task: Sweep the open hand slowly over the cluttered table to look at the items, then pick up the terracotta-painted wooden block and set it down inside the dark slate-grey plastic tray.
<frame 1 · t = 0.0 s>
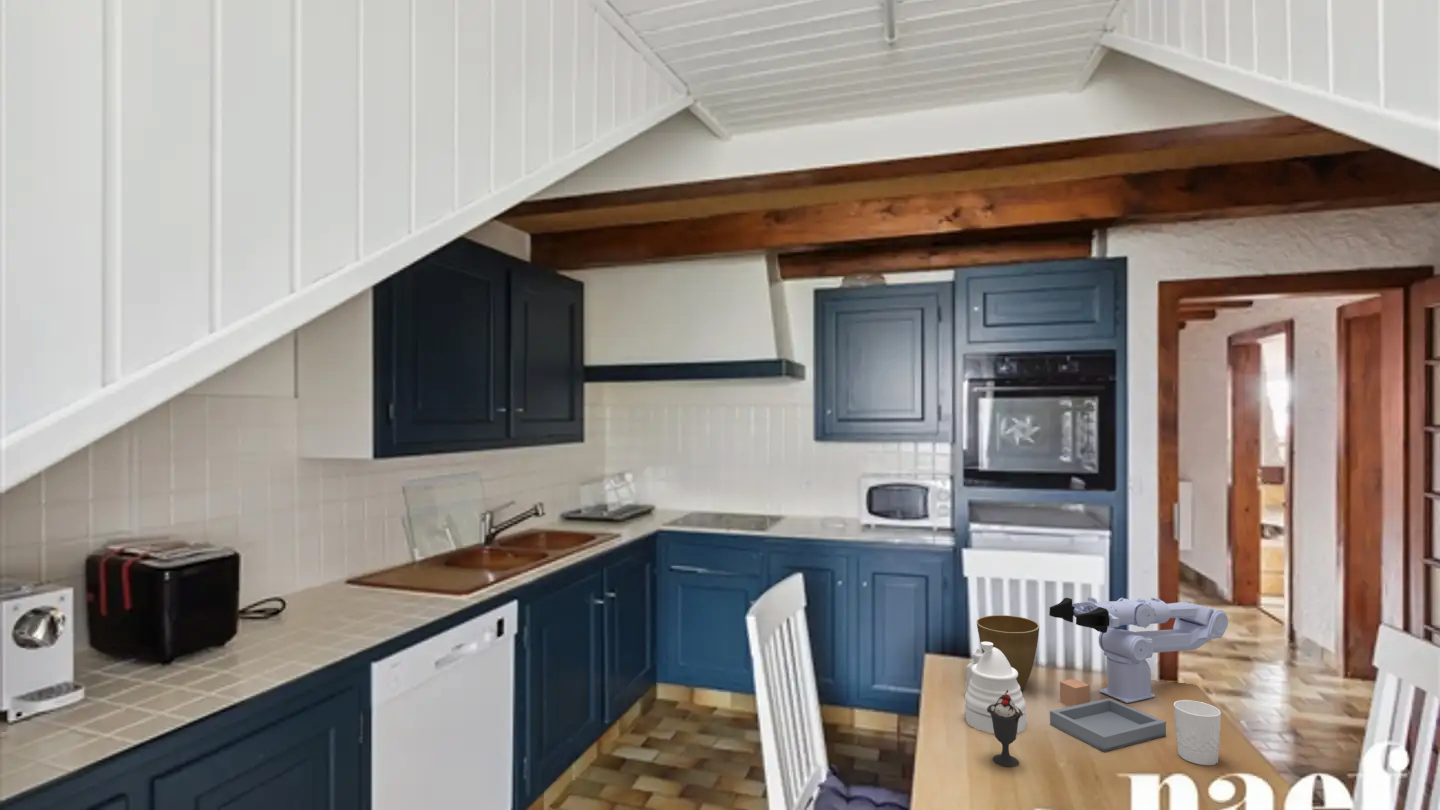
hand: (1063, 615, 168), 22 cm above the table, tool horizontal, fingers open, 7 cm apart
eye dropper bottle: (979, 698, 175), on the table
white cup: (1197, 758, 144), on the table
plant pot: (1008, 686, 182), on the table
sundae: (1006, 762, 144), on the table
honey pot: (995, 722, 162), on the table
block: (1074, 704, 170), on the table
tray: (1106, 730, 156), on the table
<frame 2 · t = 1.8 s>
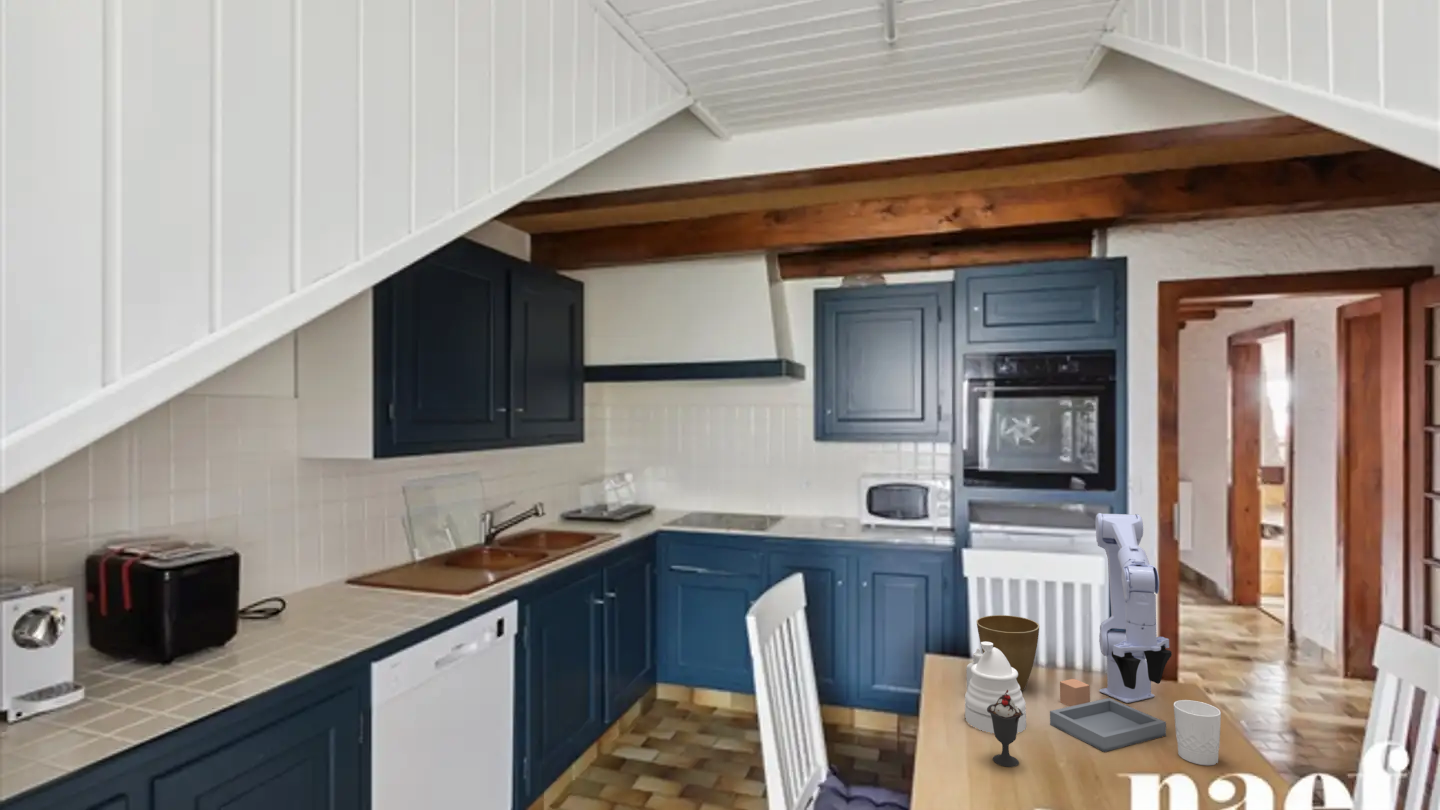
hand: (1142, 684, 155), 10 cm above the table, tool pointing down, fingers open, 7 cm apart
nothing on the table moved.
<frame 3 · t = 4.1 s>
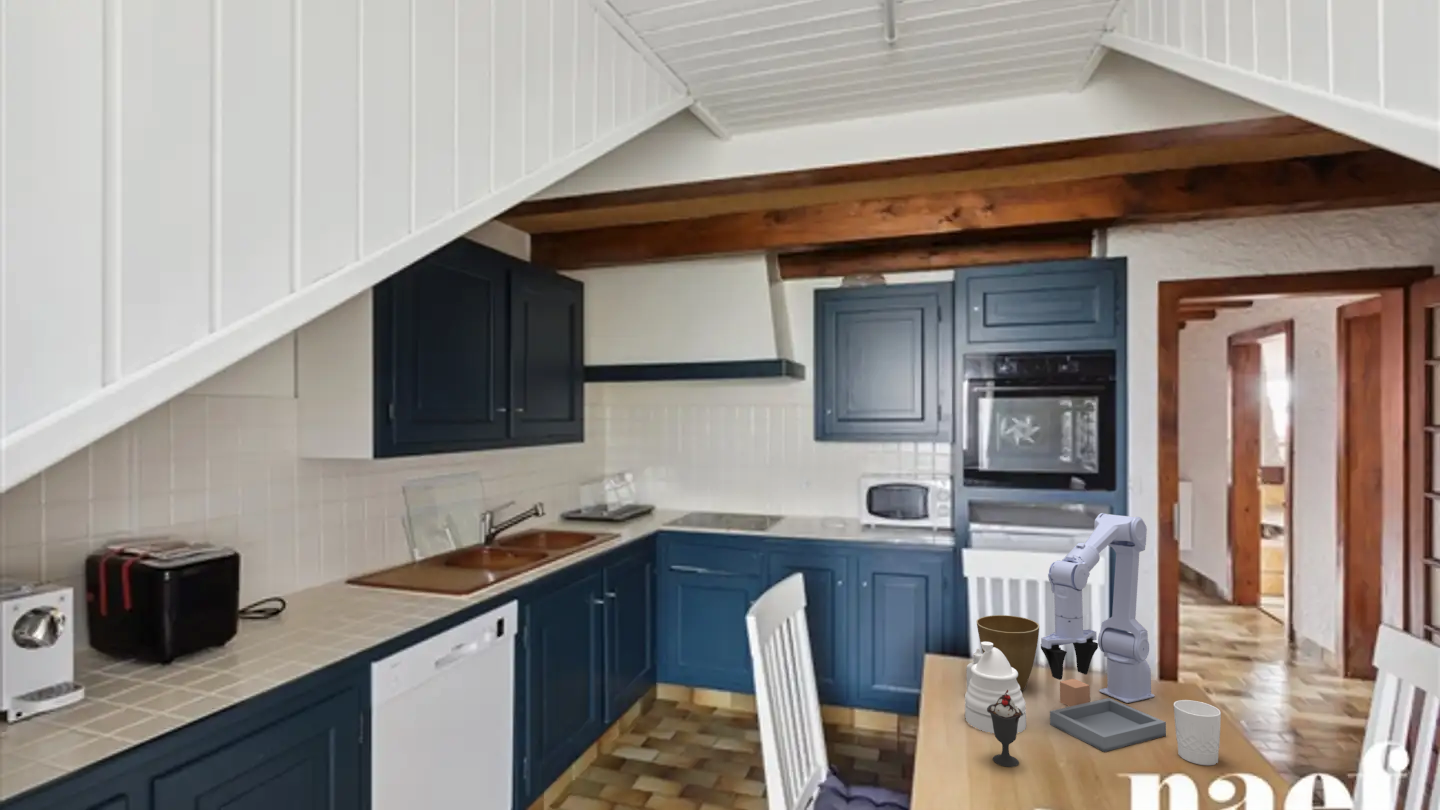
hand: (1069, 675, 161), 10 cm above the table, tool pointing down, fingers open, 7 cm apart
nothing on the table moved.
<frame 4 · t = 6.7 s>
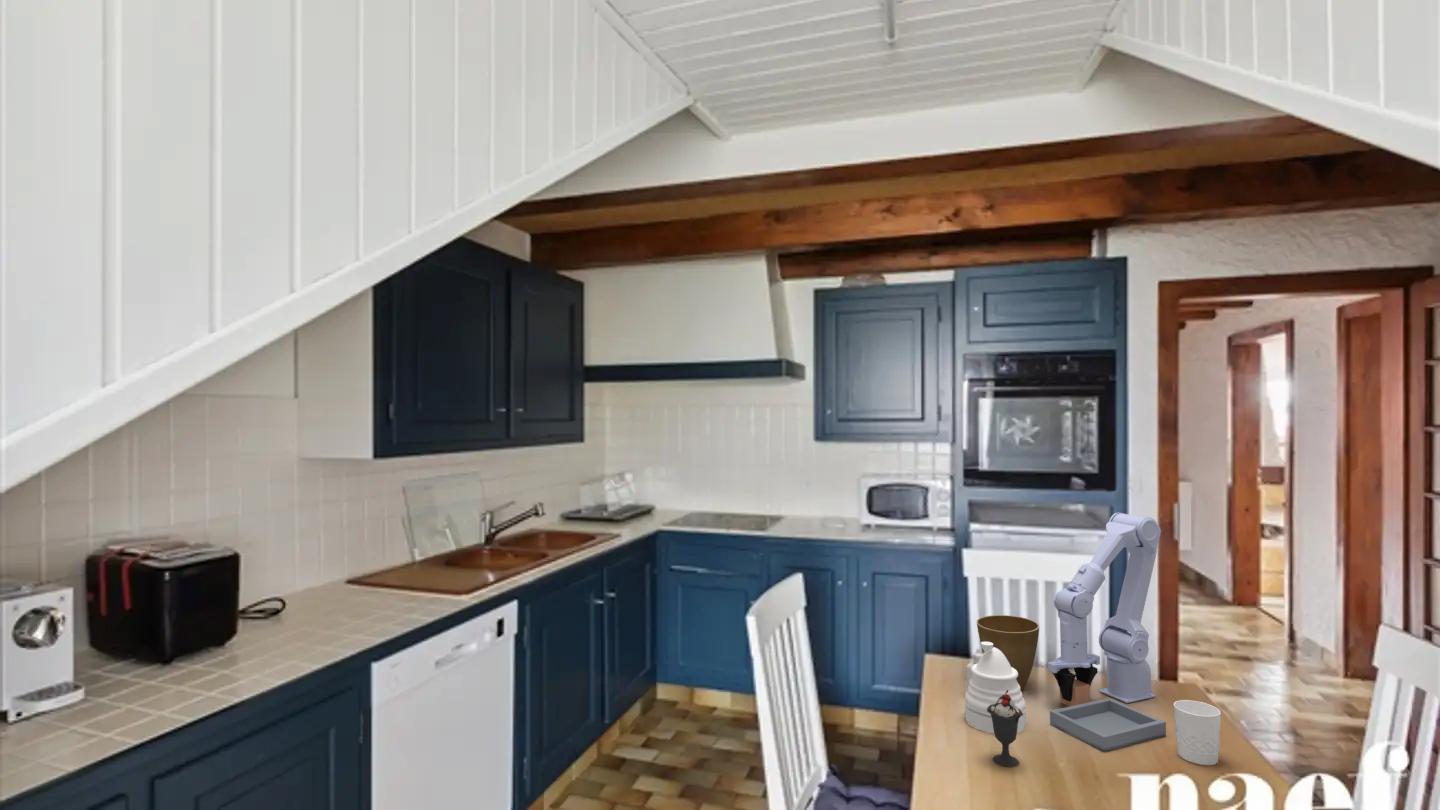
hand: (1074, 698, 170), 1 cm above the table, tool pointing down, fingers closed on block, 4 cm apart
block: (1074, 704, 170), on the table, touching gripper
everything else where it was.
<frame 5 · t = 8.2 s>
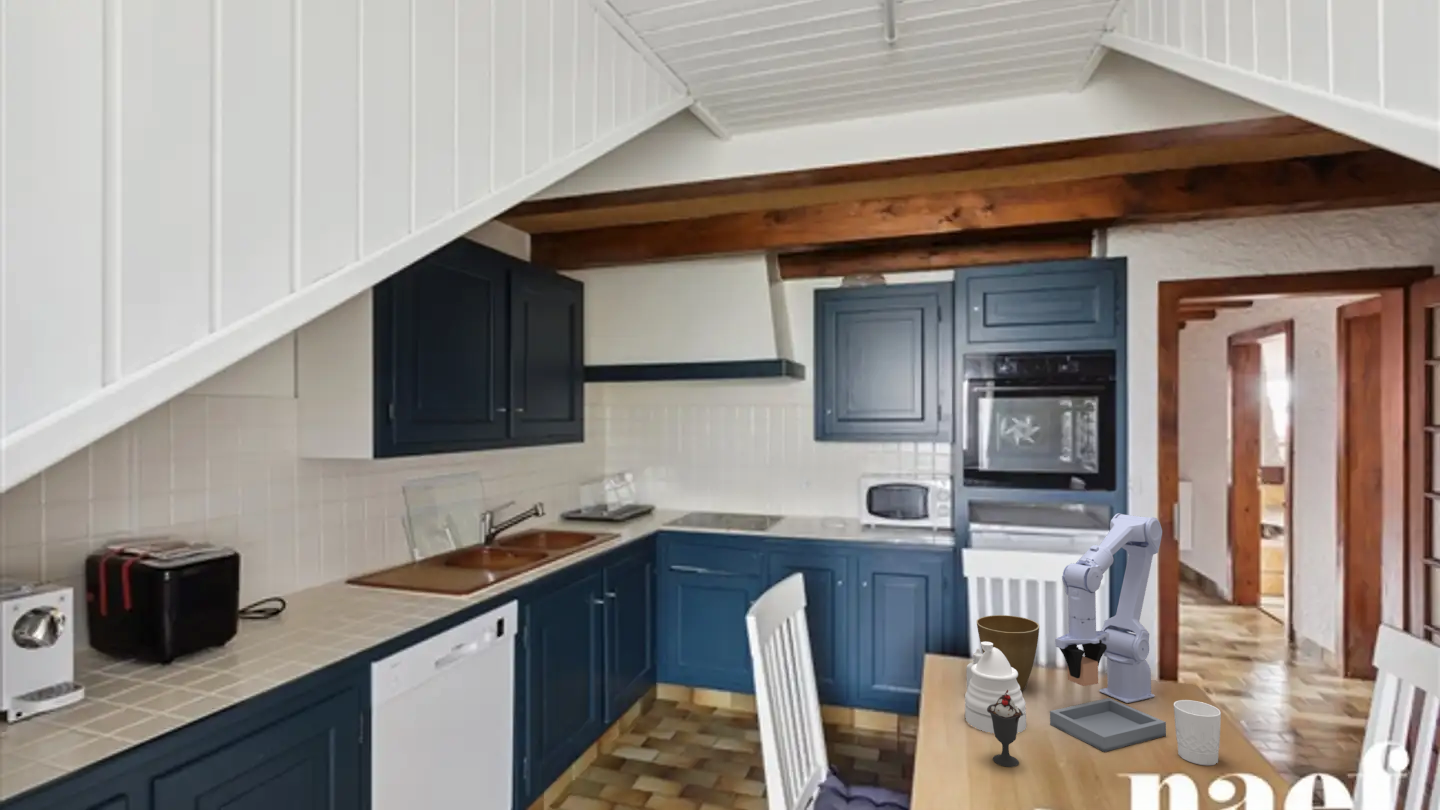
hand: (1083, 675, 166), 8 cm above the table, tool pointing down, fingers closed on block, 4 cm apart
block: (1082, 681, 166), point 7 cm above the table, touching gripper
everything else where it was.
when the fingers open (3 cm above the table, at t = 10.1 s): block drops 1 cm, resting on tray.
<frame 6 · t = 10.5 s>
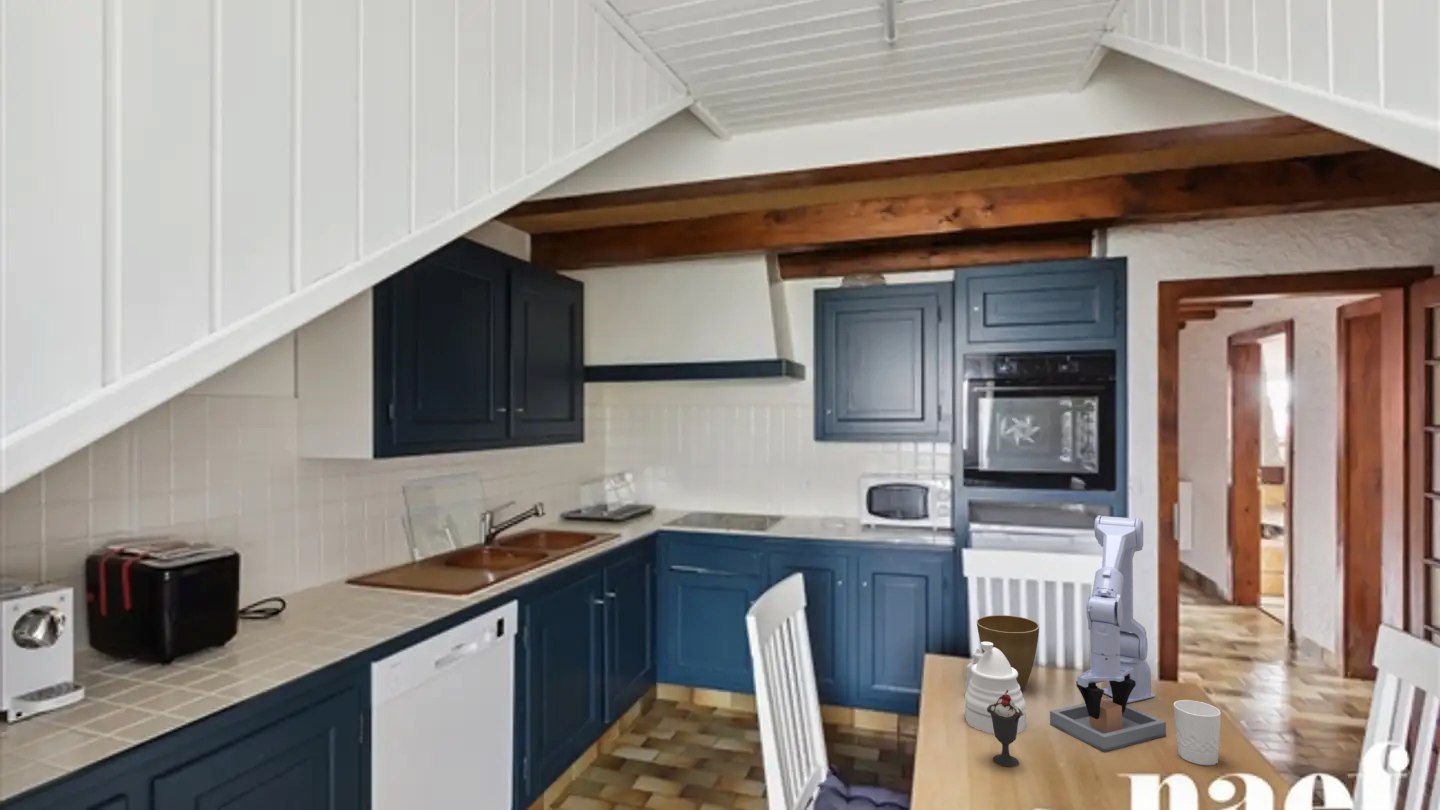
hand: (1106, 714, 156), 4 cm above the table, tool pointing down, fingers open, 7 cm apart
block: (1105, 726, 157), point 1 cm above the table, touching tray
everything else where it was.
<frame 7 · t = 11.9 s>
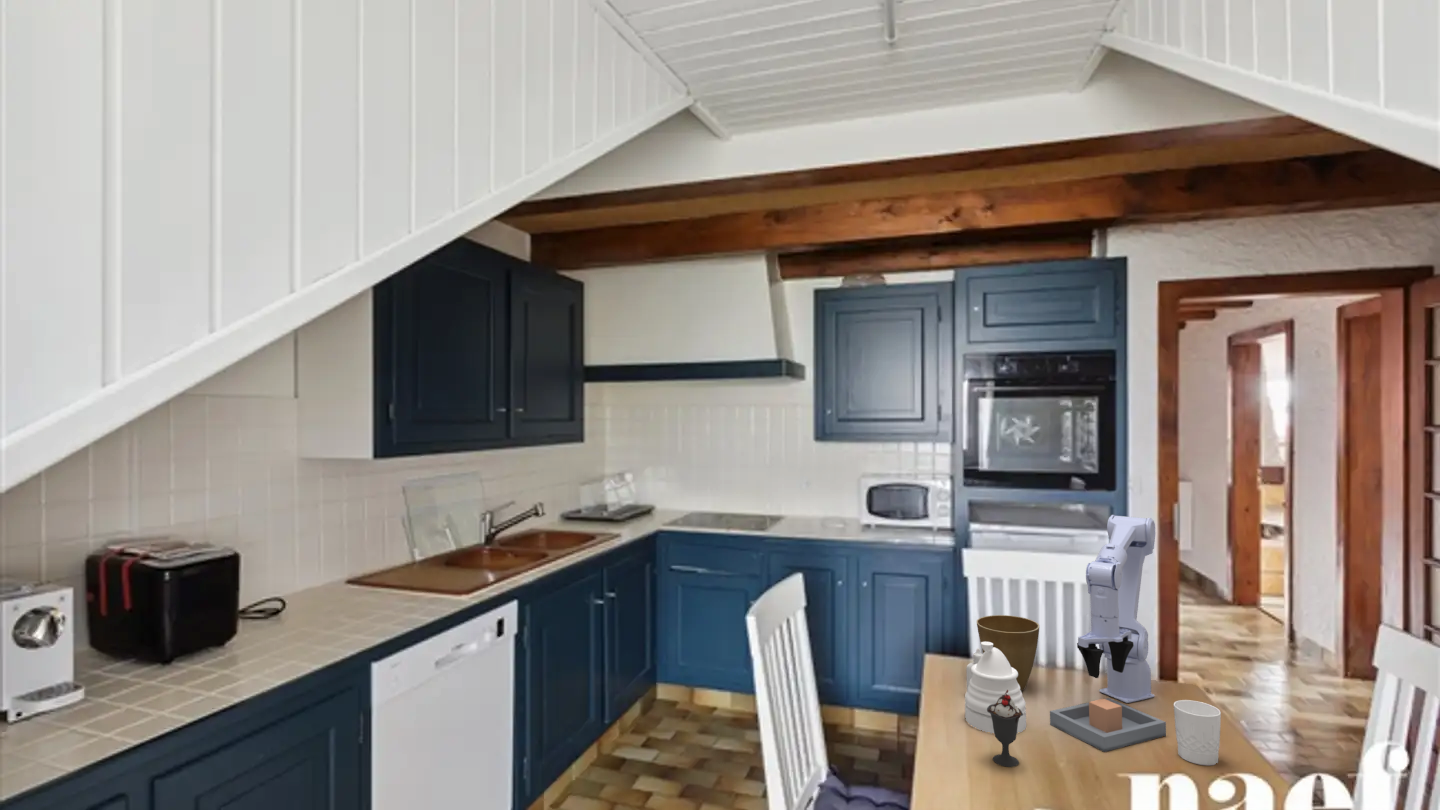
hand: (1105, 673, 164), 9 cm above the table, tool pointing down, fingers open, 7 cm apart
nothing on the table moved.
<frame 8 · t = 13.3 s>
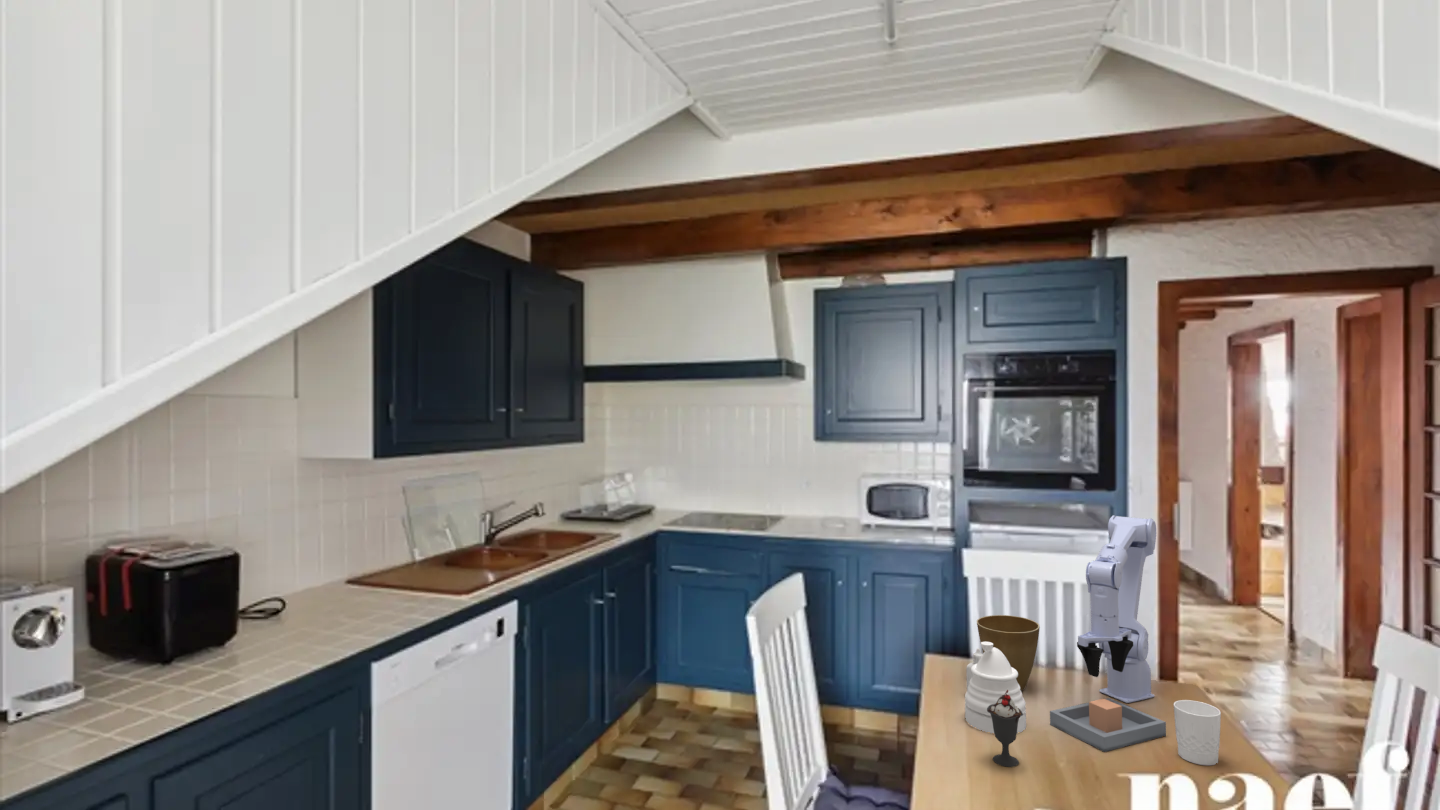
hand: (1105, 673, 165), 9 cm above the table, tool pointing down, fingers open, 7 cm apart
nothing on the table moved.
at the end: block inside the target area on the tray (0.3 cm from its centre), point 0.6 cm above the tray's base; block tilted 0°; the gripper is holding nothing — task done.
